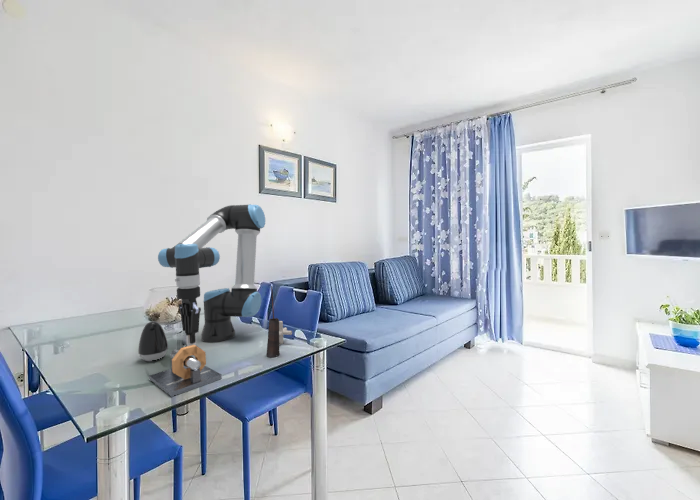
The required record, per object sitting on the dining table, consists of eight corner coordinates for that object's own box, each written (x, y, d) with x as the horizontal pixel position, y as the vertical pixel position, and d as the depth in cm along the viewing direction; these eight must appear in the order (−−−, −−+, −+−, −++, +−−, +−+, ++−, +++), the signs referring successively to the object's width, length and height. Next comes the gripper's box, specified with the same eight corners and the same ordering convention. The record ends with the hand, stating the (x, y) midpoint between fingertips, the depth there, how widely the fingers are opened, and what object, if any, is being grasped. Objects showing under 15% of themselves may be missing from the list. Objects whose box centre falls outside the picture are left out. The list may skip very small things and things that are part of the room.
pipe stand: (149, 379, 110) (147, 354, 109) (196, 365, 122) (195, 342, 121) (171, 397, 97) (169, 368, 97) (221, 378, 109) (220, 353, 109)
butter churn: (287, 358, 127) (285, 287, 125) (262, 361, 124) (260, 289, 123) (285, 350, 135) (283, 284, 134) (262, 353, 133) (259, 286, 131)
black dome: (137, 366, 122) (135, 326, 121) (140, 357, 131) (138, 320, 130) (168, 360, 127) (166, 322, 126) (169, 352, 136) (167, 317, 135)
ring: (172, 381, 104) (171, 350, 103) (203, 370, 111) (202, 342, 111) (175, 382, 102) (173, 351, 102) (206, 372, 110) (205, 343, 110)
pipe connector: (287, 347, 139) (286, 324, 138) (266, 346, 141) (265, 324, 140) (295, 340, 148) (295, 319, 148) (275, 339, 150) (275, 318, 150)
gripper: (169, 286, 117) (173, 350, 118) (185, 290, 108) (188, 358, 109) (191, 283, 122) (194, 344, 124) (207, 287, 114) (210, 352, 115)
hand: (191, 351), depth 117 cm, fingers closed
